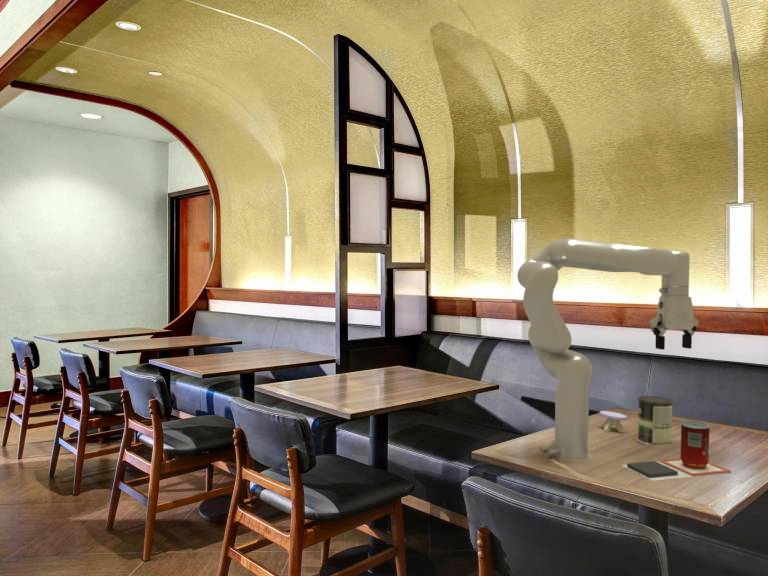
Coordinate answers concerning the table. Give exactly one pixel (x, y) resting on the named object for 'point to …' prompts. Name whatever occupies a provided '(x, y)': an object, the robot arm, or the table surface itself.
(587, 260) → the robot arm
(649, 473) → the ink pad
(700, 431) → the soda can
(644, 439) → the coffee can
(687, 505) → the table surface
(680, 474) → the board
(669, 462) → the red bordered square panel
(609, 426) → the toy table
